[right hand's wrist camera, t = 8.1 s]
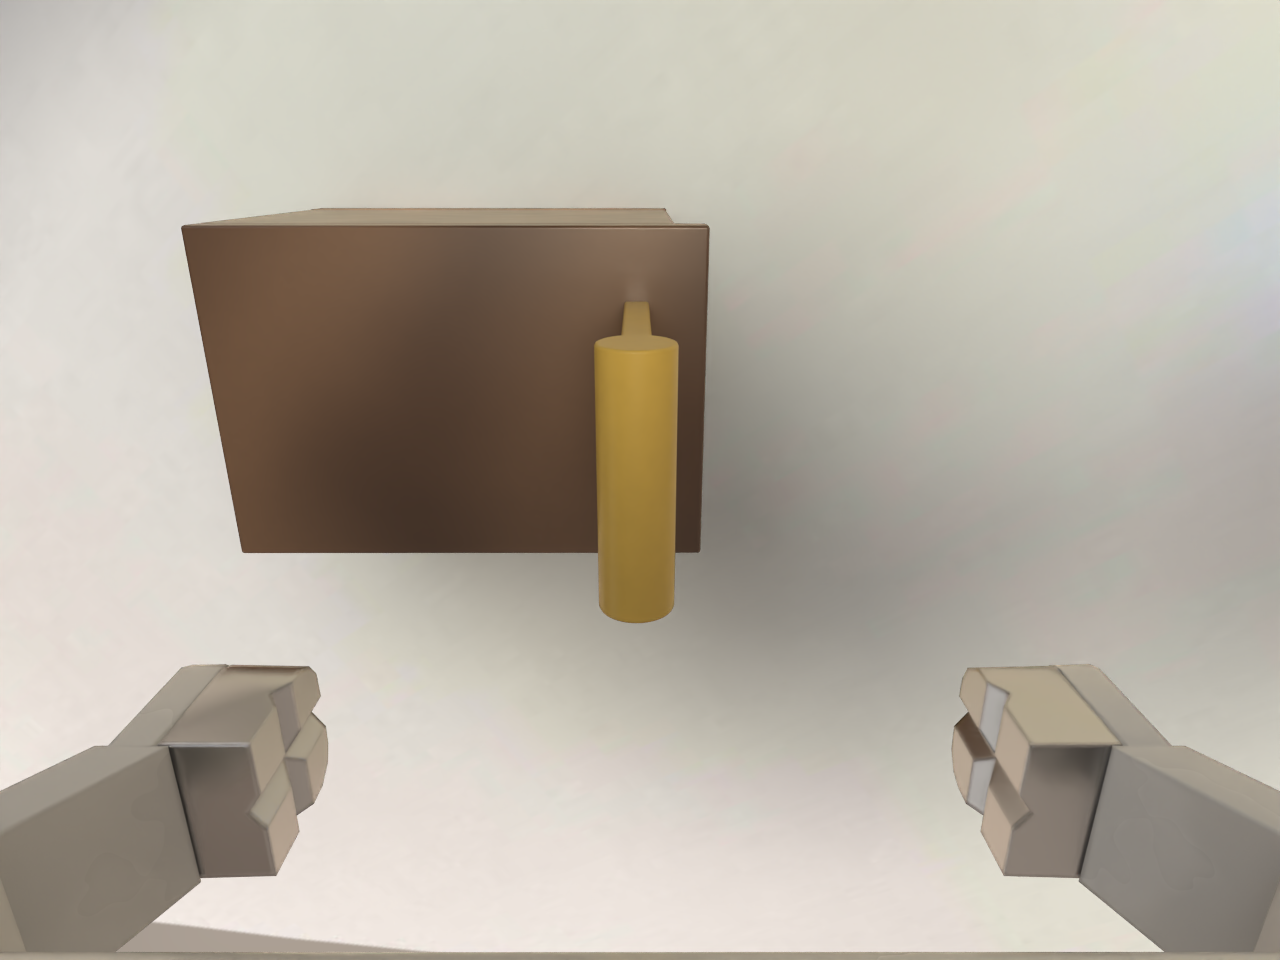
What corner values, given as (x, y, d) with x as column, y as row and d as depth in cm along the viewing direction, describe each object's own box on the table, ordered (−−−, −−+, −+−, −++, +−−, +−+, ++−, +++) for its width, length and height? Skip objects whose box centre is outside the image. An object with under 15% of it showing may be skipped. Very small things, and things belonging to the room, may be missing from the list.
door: (707, 223, 24) (743, 250, 16) (698, 540, 27) (724, 696, 19) (197, 223, 24) (-32, 250, 16) (254, 541, 27) (93, 697, 19)
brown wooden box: (664, 208, 33) (675, 223, 24) (662, 446, 36) (670, 540, 27) (321, 208, 33) (197, 223, 24) (352, 446, 36) (255, 540, 27)
